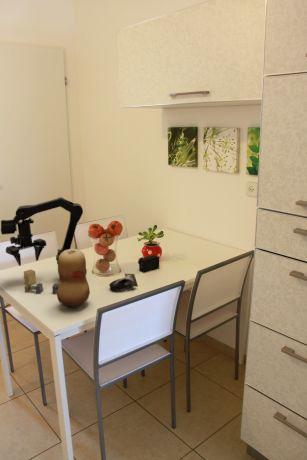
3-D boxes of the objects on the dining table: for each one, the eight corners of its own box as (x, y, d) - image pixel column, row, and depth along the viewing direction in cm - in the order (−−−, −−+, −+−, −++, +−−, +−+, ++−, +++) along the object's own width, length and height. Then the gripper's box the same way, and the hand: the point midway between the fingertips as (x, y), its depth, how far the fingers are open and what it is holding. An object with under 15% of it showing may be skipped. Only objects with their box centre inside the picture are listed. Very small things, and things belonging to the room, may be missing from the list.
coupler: (32, 281, 196) (30, 269, 194) (36, 283, 193) (35, 271, 191) (24, 283, 193) (23, 271, 191) (29, 285, 190) (27, 273, 188)
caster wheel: (108, 294, 185) (122, 285, 192) (125, 296, 177) (139, 286, 184) (104, 281, 183) (118, 272, 190) (120, 283, 176) (135, 273, 183)
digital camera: (153, 266, 214) (153, 253, 212) (159, 268, 210) (159, 256, 208) (137, 270, 208) (137, 257, 206) (143, 273, 204) (143, 260, 202)
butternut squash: (66, 315, 159) (61, 258, 153) (53, 304, 170) (48, 250, 163) (96, 306, 167) (92, 251, 161) (82, 296, 178) (78, 243, 171)
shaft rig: (23, 293, 181) (22, 286, 180) (26, 289, 186) (26, 282, 185) (69, 294, 180) (69, 286, 179) (72, 290, 184) (71, 282, 183)
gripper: (33, 225, 198) (36, 254, 202) (-2, 233, 185) (2, 264, 189) (45, 229, 191) (48, 259, 195) (9, 238, 178) (13, 270, 182)
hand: (28, 263), depth 190 cm, fingers open, 9 cm apart
